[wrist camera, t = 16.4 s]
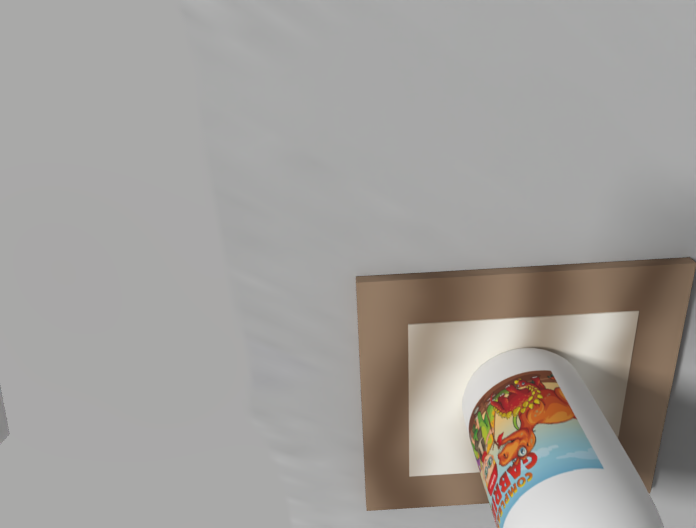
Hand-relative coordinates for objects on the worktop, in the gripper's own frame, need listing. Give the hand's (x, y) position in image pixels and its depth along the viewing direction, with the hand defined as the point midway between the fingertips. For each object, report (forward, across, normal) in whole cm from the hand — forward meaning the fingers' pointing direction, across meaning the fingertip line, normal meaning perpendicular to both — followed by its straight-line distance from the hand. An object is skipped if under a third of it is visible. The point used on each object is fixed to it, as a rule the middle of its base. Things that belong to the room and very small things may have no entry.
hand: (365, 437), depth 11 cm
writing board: (+28, +8, -19) cm, 35 cm away
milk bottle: (+28, +8, -19) cm, 34 cm away
